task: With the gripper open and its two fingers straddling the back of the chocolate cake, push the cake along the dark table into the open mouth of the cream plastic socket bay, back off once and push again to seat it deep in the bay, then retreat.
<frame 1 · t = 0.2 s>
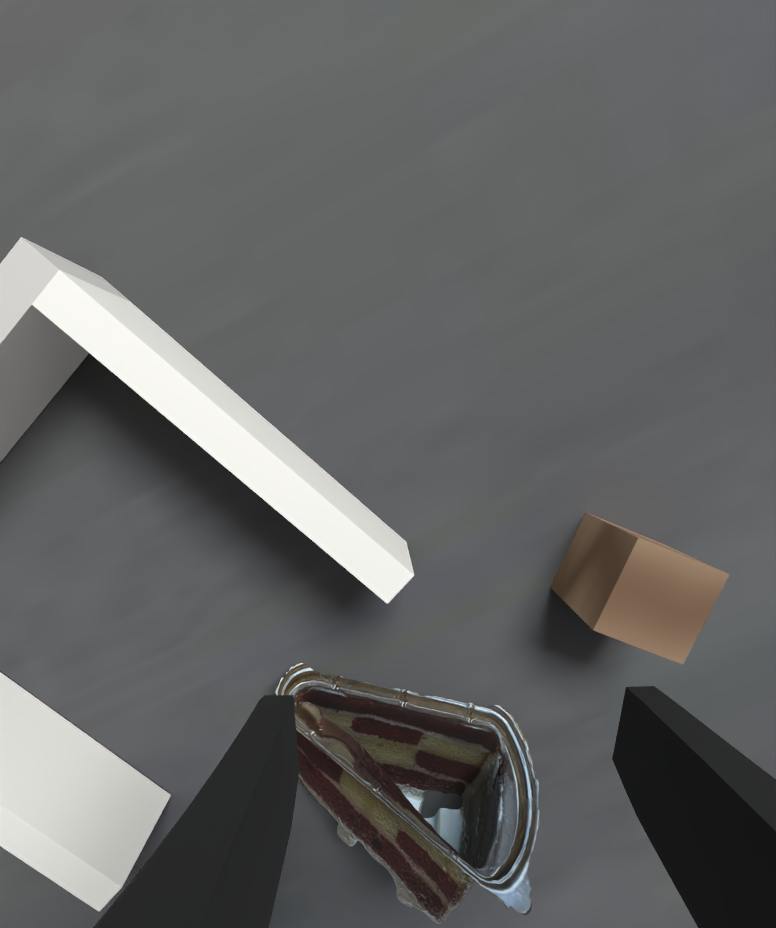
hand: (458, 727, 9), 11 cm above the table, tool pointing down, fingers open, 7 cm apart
walnut block: (603, 564, 20), on the table
chocolate cake: (384, 746, 21), on the table
socket bay: (142, 579, 19), on the table
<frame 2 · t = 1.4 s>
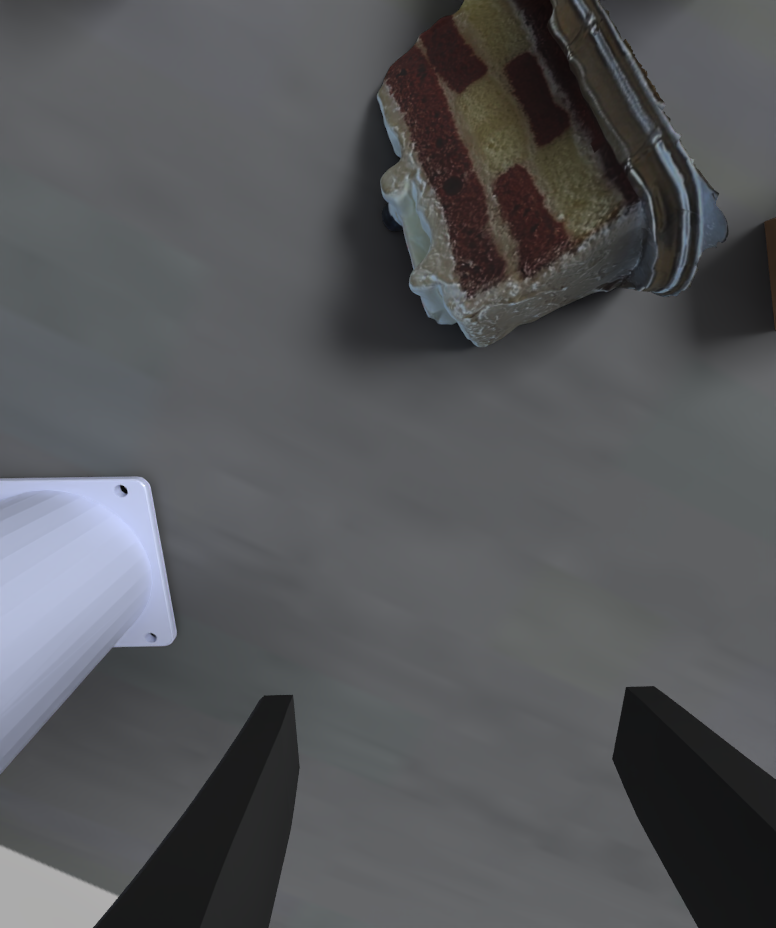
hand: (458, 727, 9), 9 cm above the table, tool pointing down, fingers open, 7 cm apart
chocolate cake: (476, 195, 15), on the table
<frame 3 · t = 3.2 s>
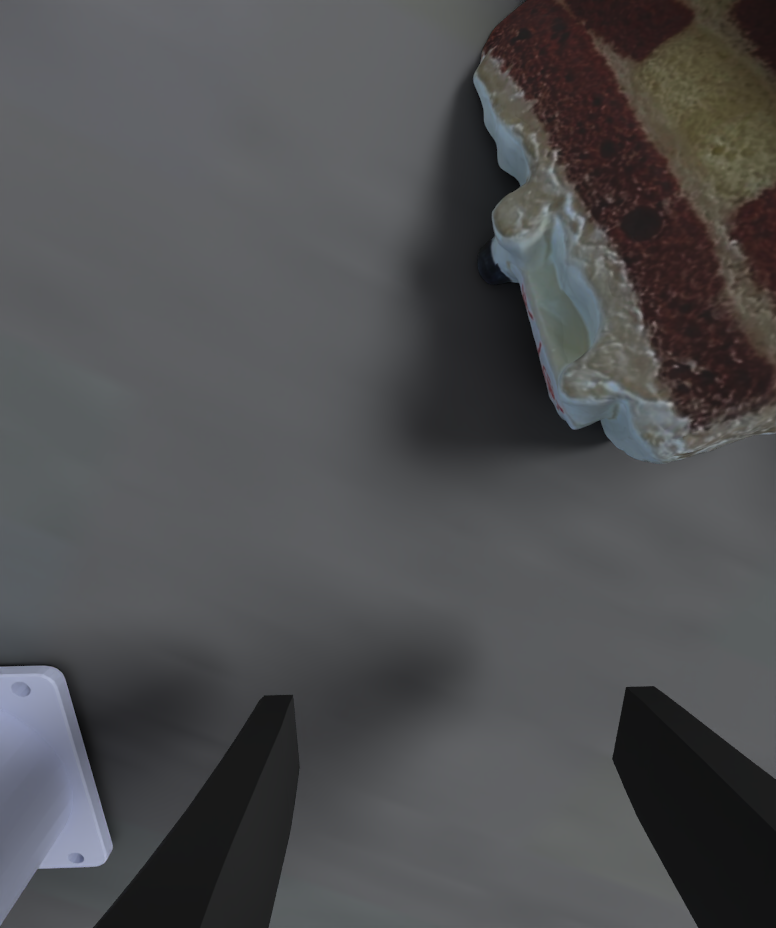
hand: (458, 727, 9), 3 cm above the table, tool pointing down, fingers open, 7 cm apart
chocolate cake: (614, 223, 10), on the table
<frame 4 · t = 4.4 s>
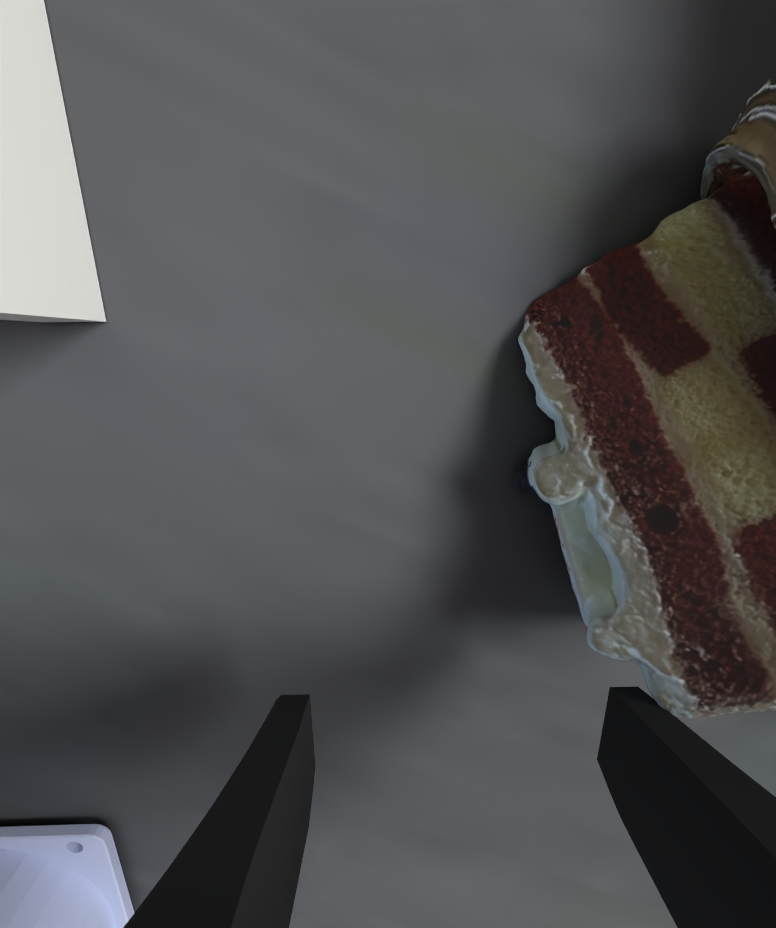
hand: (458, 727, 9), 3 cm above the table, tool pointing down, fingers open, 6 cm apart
chocolate cake: (633, 437, 11), on the table, touching gripper, socket bay
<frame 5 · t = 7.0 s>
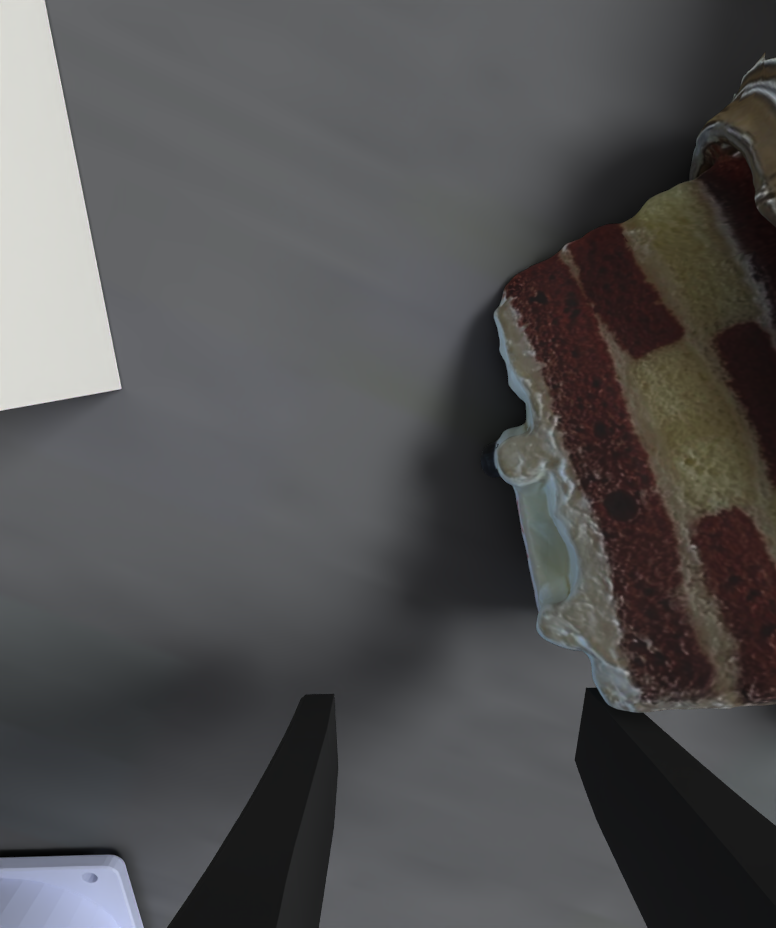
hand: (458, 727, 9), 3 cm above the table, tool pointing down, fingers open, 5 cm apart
chocolate cake: (606, 429, 11), on the table, touching gripper, socket bay
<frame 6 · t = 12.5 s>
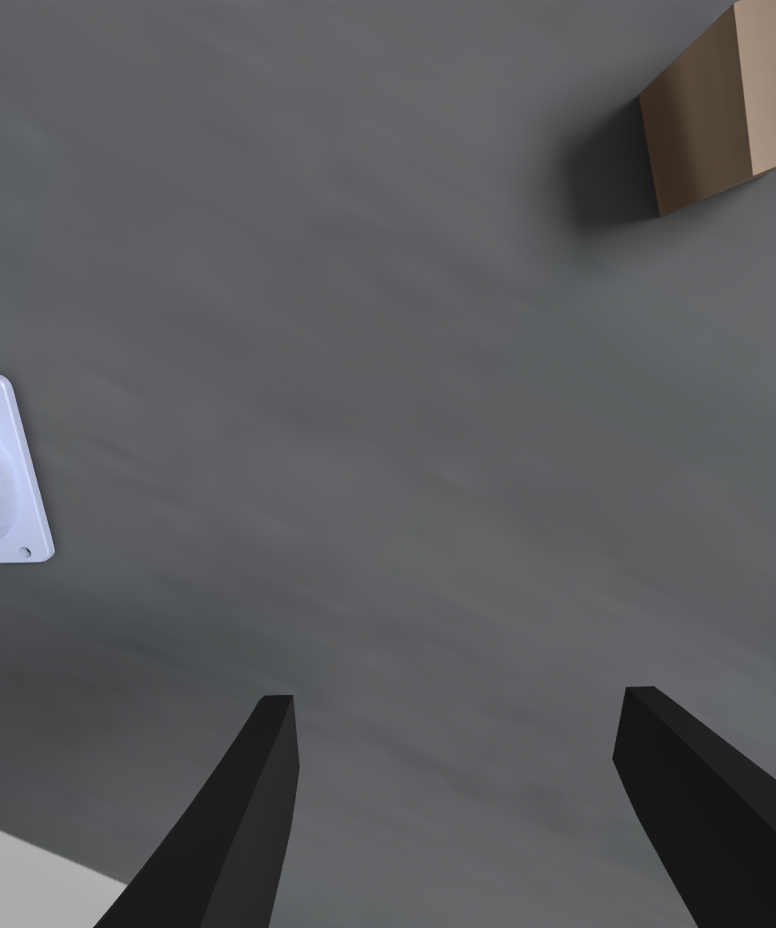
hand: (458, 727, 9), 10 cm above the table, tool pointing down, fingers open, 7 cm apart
walnut block: (703, 136, 14), on the table
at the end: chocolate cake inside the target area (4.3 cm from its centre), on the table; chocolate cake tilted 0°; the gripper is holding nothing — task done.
